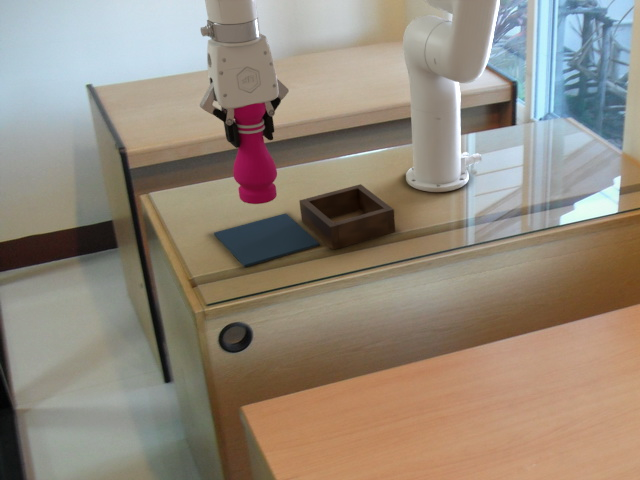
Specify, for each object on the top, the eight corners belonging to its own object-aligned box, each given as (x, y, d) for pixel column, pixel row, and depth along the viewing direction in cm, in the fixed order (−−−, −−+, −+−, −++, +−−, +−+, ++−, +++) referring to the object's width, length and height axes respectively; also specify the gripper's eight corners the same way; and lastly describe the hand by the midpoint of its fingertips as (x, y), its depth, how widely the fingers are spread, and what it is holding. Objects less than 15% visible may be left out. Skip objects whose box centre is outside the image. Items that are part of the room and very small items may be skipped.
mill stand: (362, 205, 179) (360, 184, 177) (395, 231, 171) (394, 209, 168) (301, 222, 173) (299, 200, 171) (332, 250, 165) (330, 227, 162)
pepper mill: (285, 190, 165) (272, 76, 153) (271, 207, 159) (257, 90, 147) (245, 186, 165) (230, 72, 154) (230, 203, 160) (213, 86, 148)
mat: (286, 215, 175) (285, 213, 175) (319, 245, 166) (319, 243, 166) (214, 235, 169) (213, 232, 169) (244, 267, 160) (244, 264, 159)
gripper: (190, 45, 139) (210, 160, 150) (295, 27, 147) (308, 137, 158) (172, 32, 144) (193, 144, 155) (276, 15, 152) (289, 123, 163)
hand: (251, 140), depth 157 cm, fingers closed on pepper mill, 5 cm apart
